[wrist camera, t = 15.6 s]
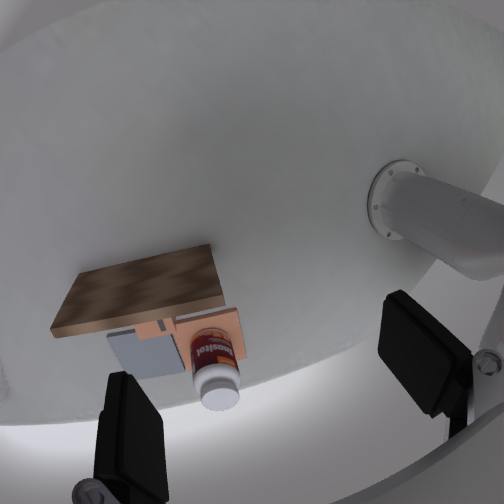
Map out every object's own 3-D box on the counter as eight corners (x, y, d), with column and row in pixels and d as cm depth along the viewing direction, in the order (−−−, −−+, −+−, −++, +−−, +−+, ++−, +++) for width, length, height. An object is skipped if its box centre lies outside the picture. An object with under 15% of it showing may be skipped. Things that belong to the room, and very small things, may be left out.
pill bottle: (232, 325, 41) (249, 382, 32) (229, 356, 44) (244, 412, 34) (188, 327, 40) (194, 385, 30) (189, 358, 42) (196, 415, 32)
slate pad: (167, 322, 40) (167, 326, 39) (185, 368, 44) (185, 371, 43) (107, 334, 38) (106, 337, 38) (130, 377, 42) (130, 380, 42)
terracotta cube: (165, 279, 37) (165, 300, 33) (175, 310, 39) (176, 333, 35) (130, 287, 36) (125, 309, 32) (142, 317, 39) (139, 340, 34)
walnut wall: (209, 244, 37) (223, 294, 26) (210, 252, 37) (225, 305, 26) (78, 273, 34) (49, 329, 23) (82, 281, 34) (55, 338, 24)
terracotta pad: (235, 307, 41) (236, 310, 41) (245, 354, 45) (246, 357, 45) (170, 322, 40) (170, 325, 39) (187, 367, 44) (187, 371, 43)
